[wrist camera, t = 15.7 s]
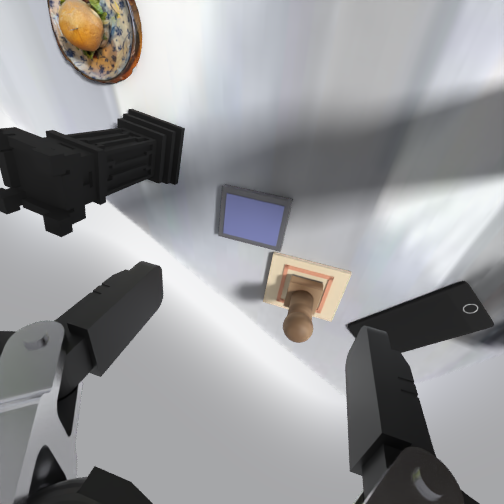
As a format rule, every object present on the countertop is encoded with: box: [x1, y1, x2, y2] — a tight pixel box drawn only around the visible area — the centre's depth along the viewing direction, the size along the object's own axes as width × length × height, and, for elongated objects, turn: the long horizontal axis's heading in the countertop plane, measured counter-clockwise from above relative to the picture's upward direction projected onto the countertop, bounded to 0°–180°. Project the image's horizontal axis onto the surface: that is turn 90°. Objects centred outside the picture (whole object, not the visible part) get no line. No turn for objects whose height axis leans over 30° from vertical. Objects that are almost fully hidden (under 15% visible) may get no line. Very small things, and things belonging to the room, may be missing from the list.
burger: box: [47, 0, 142, 84], centre depth 30 cm, size 12×12×8 cm
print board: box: [263, 252, 351, 322], centre depth 43 cm, size 12×10×1 cm
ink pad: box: [218, 184, 293, 252], centre depth 39 cm, size 10×8×1 cm
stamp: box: [283, 274, 323, 343], centre depth 38 cm, size 5×5×10 cm
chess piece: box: [0, 109, 185, 237], centre depth 30 cm, size 8×8×20 cm
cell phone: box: [348, 281, 494, 353], centre depth 41 cm, size 9×18×1 cm, turn 131°
